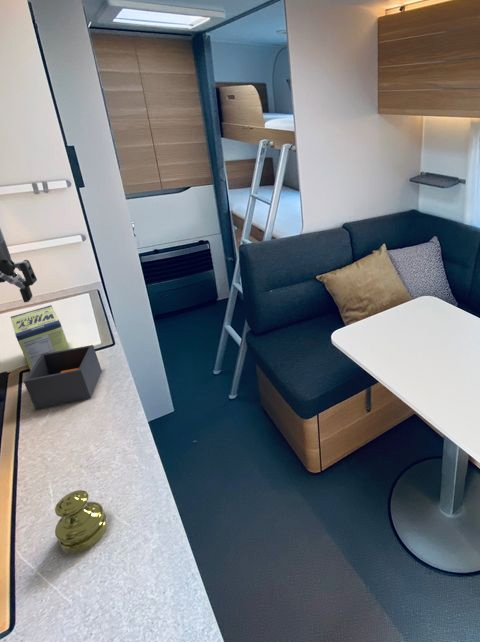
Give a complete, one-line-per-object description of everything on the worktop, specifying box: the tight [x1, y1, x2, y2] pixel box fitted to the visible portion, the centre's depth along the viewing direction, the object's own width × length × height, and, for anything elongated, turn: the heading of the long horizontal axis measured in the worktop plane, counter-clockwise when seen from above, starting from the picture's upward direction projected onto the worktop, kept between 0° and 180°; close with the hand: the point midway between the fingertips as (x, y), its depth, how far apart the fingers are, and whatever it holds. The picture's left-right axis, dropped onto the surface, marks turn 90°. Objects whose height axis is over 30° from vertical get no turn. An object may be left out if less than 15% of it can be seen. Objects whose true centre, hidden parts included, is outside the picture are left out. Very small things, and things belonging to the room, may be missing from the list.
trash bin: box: [23, 344, 103, 411], centre depth 113 cm, size 13×13×10 cm
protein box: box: [10, 304, 71, 372], centre depth 125 cm, size 10×16×16 cm
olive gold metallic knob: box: [54, 489, 109, 555], centre depth 75 cm, size 7×7×10 cm
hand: (7, 303), depth 101 cm, fingers open, 8 cm apart
